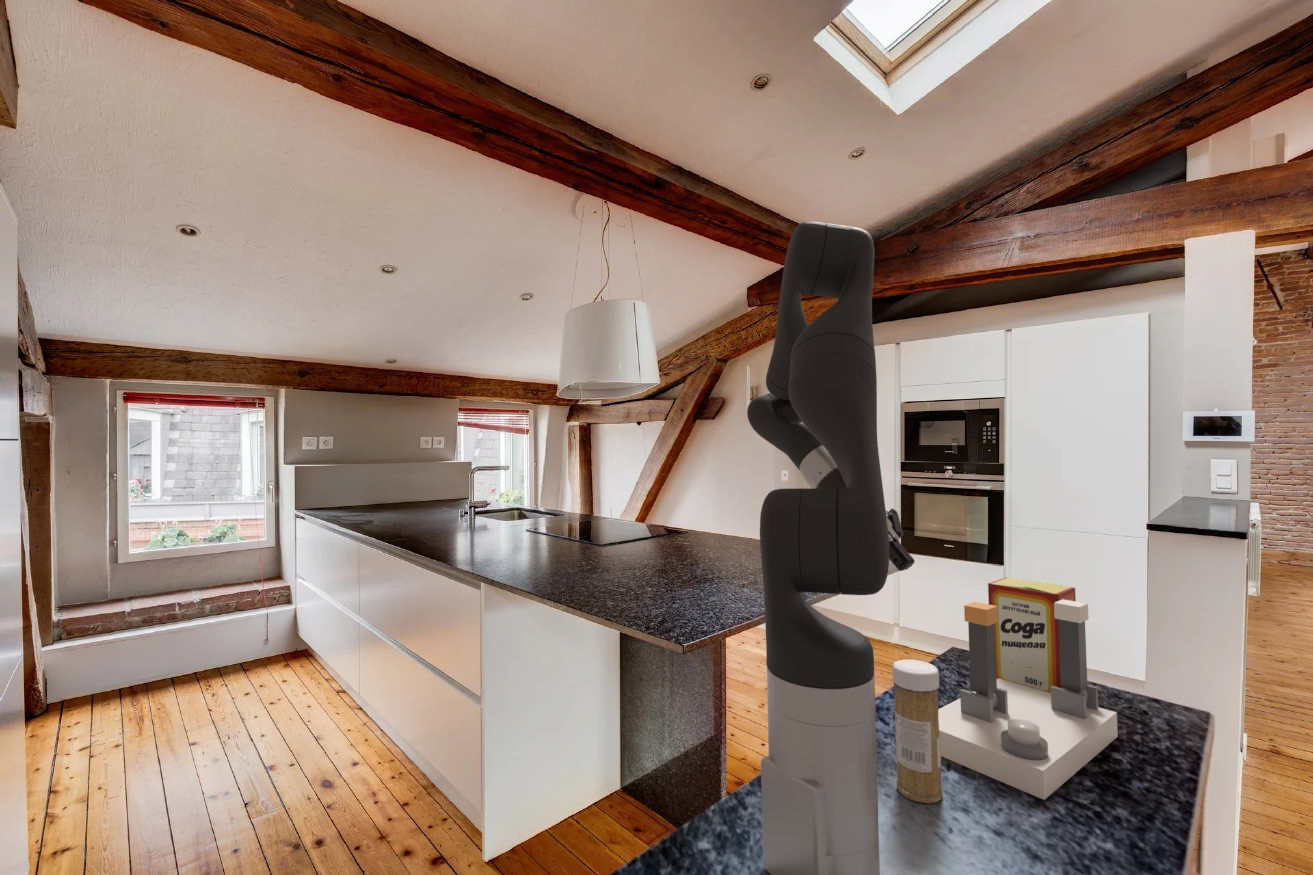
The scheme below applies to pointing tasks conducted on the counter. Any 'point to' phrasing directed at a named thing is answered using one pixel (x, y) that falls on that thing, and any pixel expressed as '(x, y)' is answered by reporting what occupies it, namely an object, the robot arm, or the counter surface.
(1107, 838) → the counter surface
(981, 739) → the switch panel
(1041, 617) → the baking soda box
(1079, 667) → the lever white
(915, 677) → the sprinkles bottle
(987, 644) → the lever orange
